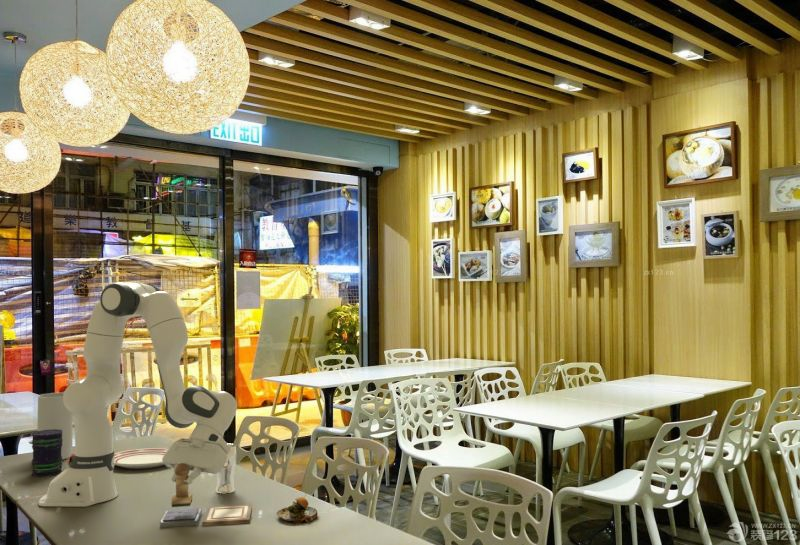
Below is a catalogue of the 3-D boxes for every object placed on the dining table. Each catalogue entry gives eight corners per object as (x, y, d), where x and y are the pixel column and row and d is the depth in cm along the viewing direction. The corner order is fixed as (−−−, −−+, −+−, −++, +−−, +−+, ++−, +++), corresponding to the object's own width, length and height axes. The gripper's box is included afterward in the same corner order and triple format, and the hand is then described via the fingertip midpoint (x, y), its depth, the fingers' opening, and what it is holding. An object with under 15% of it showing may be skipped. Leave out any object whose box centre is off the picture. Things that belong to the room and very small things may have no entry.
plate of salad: (281, 511, 201) (281, 486, 201) (320, 511, 200) (320, 486, 201) (272, 525, 189) (272, 498, 189) (313, 525, 188) (313, 498, 189)
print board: (202, 525, 188) (202, 521, 188) (207, 510, 200) (207, 506, 201) (249, 522, 190) (249, 518, 190) (251, 508, 203) (251, 504, 203)
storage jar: (64, 468, 249) (64, 428, 249) (59, 475, 239) (60, 433, 240) (34, 471, 246) (35, 430, 246) (28, 478, 236) (29, 435, 237)
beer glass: (230, 495, 216) (230, 448, 217) (210, 493, 218) (210, 447, 218) (239, 489, 223) (239, 443, 223) (220, 487, 224) (220, 442, 225)
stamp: (171, 507, 189) (171, 465, 190) (174, 501, 194) (174, 461, 195) (189, 506, 190) (189, 465, 190) (192, 500, 195) (192, 460, 195)
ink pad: (159, 527, 186) (159, 520, 186) (166, 515, 196) (166, 509, 196) (196, 525, 188) (197, 518, 188) (201, 513, 198) (201, 507, 198)
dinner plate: (155, 451, 277) (155, 443, 277) (196, 461, 261) (196, 452, 261) (91, 465, 255) (91, 456, 255) (133, 476, 239) (133, 467, 239)
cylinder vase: (66, 452, 274) (67, 391, 275) (76, 458, 265) (77, 395, 266) (33, 457, 266) (34, 394, 267) (41, 463, 257) (42, 398, 257)
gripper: (172, 432, 203) (147, 472, 194) (225, 437, 195) (202, 480, 186) (183, 443, 207) (159, 483, 198) (235, 449, 199) (213, 492, 189)
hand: (180, 482), depth 192 cm, fingers closed on stamp, 3 cm apart
